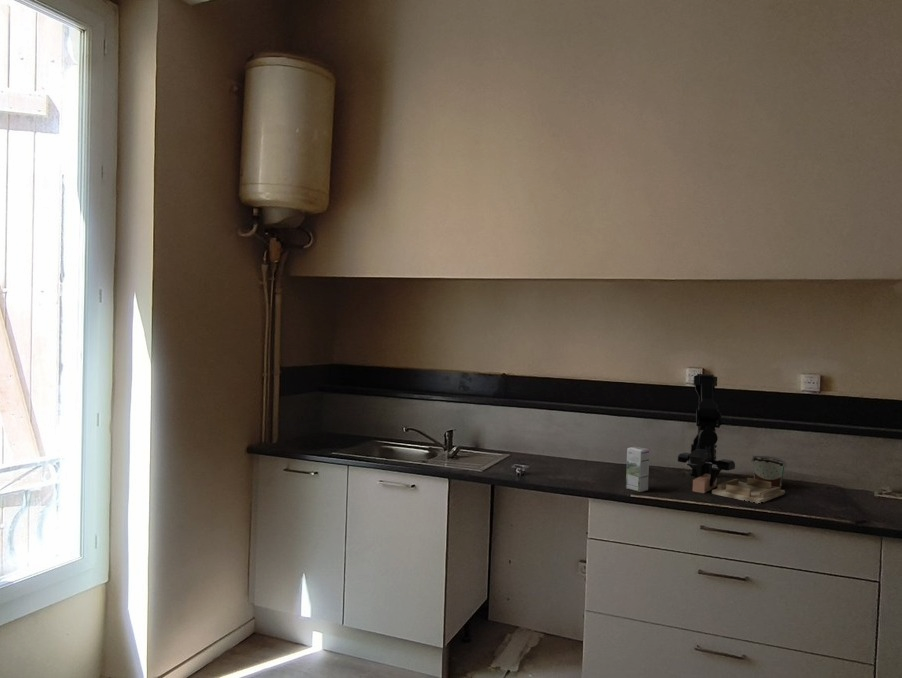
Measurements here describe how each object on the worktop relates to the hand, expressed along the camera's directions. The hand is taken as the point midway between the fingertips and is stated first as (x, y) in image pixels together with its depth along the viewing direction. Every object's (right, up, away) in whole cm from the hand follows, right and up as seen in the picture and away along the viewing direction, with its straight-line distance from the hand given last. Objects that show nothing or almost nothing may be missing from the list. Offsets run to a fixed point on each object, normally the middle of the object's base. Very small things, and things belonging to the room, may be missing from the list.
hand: (704, 485), depth 233 cm
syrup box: (-26, -1, -5) cm, 26 cm away
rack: (+13, -2, -5) cm, 14 cm away
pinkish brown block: (0, -1, 0) cm, 1 cm away
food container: (+29, -2, +10) cm, 30 cm away
